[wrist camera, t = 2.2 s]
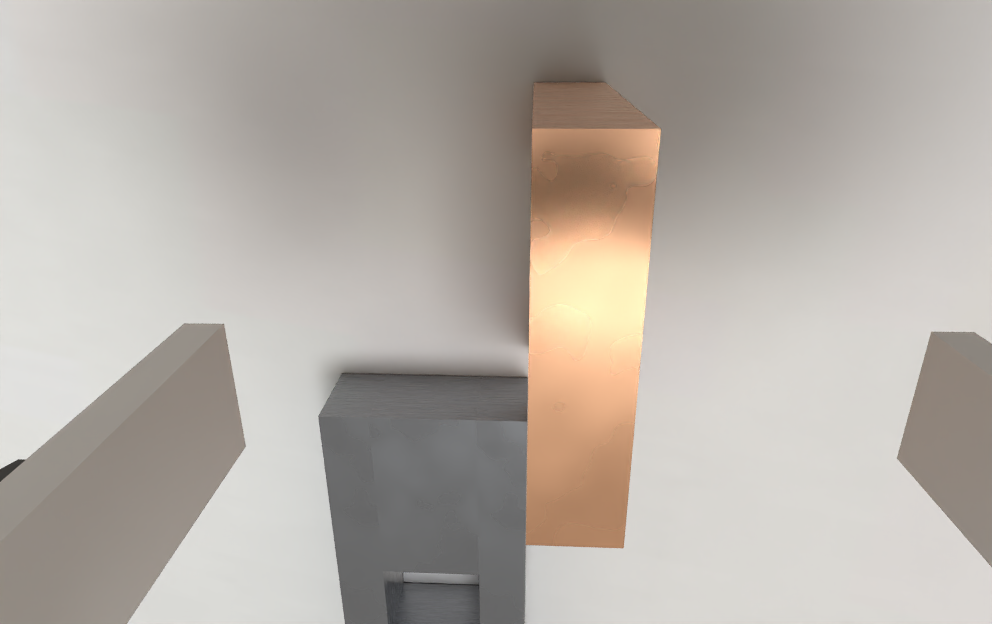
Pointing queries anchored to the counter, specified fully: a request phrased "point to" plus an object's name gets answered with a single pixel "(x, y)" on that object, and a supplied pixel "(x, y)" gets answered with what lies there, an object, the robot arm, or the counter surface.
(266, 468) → the counter surface
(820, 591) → the counter surface
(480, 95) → the counter surface
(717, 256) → the counter surface
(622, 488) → the brown wooden block
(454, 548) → the rail
